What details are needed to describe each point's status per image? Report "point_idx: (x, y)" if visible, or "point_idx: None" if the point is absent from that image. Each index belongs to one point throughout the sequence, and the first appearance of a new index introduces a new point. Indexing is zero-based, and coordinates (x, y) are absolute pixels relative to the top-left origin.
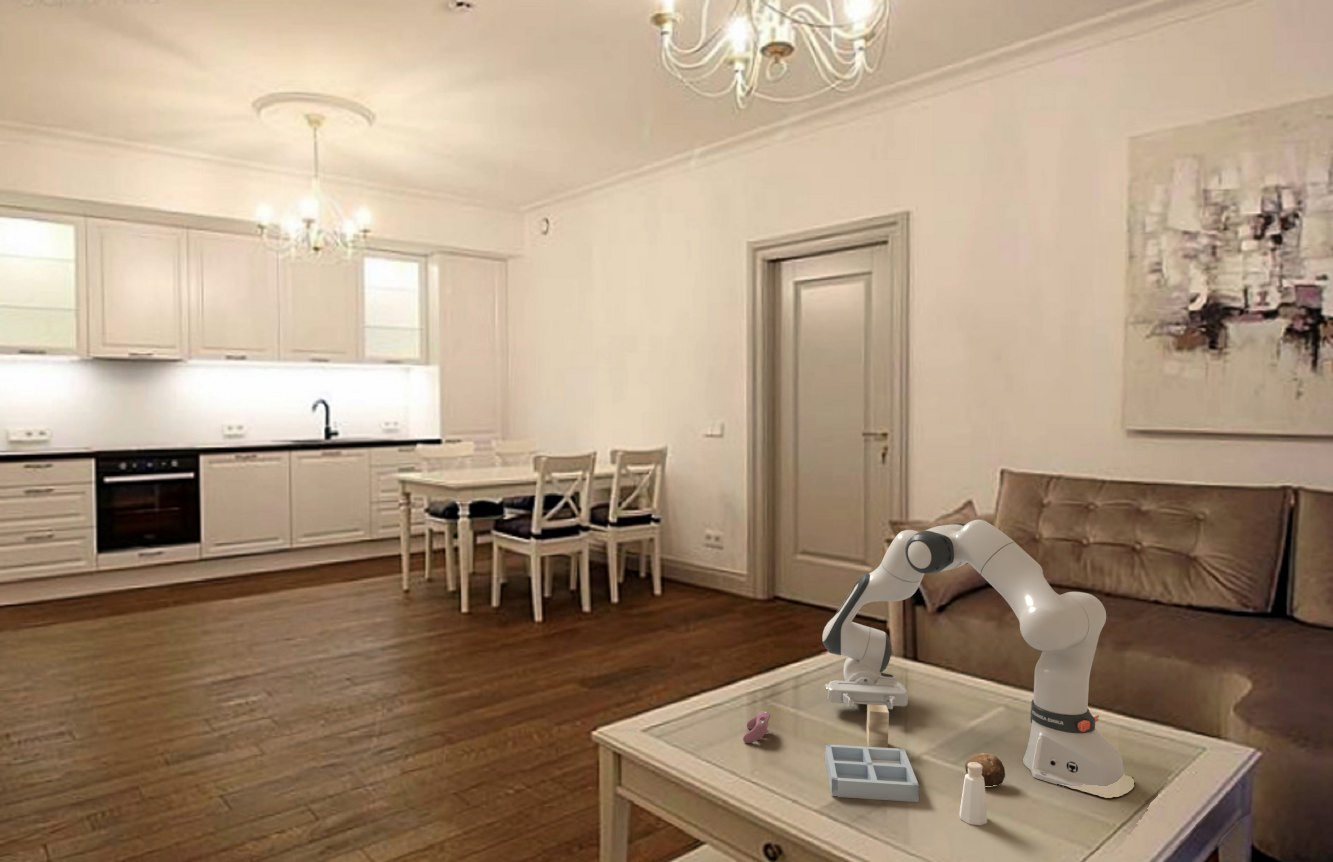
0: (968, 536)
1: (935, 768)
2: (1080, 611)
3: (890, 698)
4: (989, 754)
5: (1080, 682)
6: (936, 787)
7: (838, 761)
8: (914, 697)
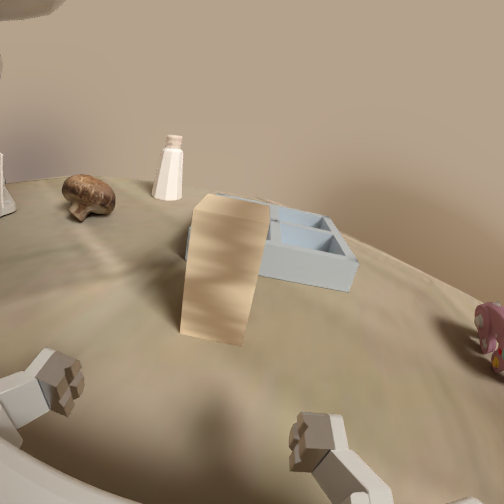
0: None
1: (130, 243)
2: None
3: (2, 408)
4: (77, 175)
5: None
6: (168, 222)
7: (325, 232)
8: None
